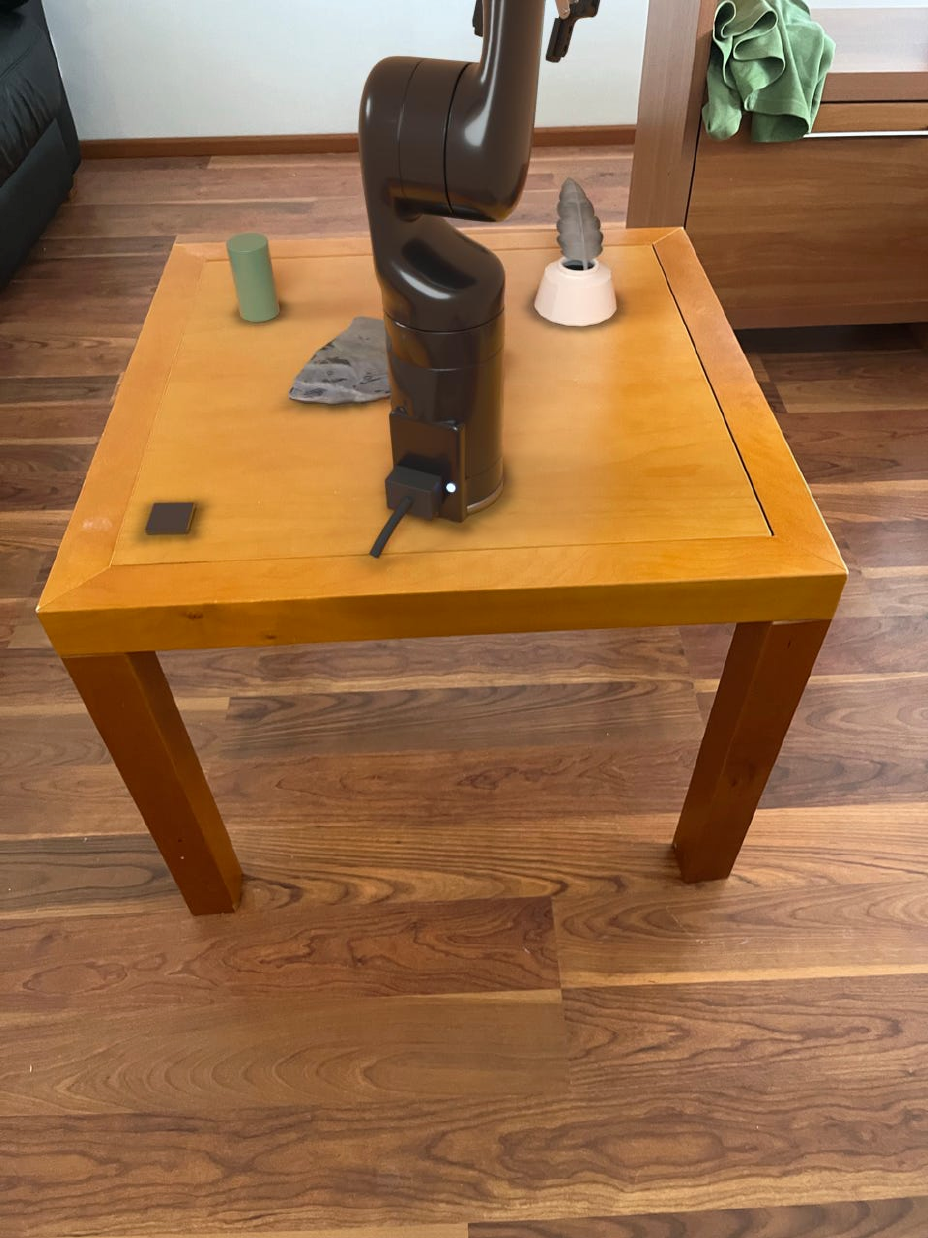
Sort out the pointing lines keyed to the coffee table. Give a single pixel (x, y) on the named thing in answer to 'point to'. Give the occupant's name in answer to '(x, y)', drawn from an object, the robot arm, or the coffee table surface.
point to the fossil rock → (347, 367)
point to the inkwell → (576, 266)
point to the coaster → (170, 518)
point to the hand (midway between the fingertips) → (516, 48)
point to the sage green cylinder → (253, 276)
